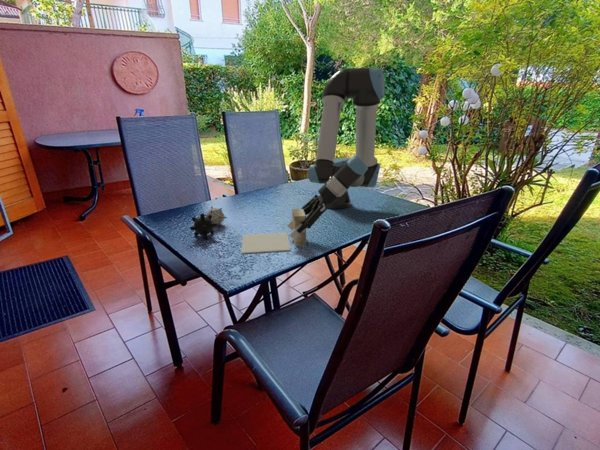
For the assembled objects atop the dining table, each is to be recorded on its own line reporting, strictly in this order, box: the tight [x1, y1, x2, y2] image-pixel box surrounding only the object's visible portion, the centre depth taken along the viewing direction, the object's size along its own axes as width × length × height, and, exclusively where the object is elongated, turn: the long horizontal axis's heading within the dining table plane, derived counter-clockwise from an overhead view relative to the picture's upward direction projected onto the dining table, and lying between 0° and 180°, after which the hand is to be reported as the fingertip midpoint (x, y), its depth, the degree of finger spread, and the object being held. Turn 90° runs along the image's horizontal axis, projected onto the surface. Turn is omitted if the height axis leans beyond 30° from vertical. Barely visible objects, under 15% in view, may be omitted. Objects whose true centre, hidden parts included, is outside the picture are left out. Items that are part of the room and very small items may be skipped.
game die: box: [204, 206, 228, 227], centre depth 148 cm, size 9×8×10 cm
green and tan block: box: [291, 208, 307, 247], centre depth 131 cm, size 4×8×12 cm, turn 7°
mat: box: [240, 232, 292, 255], centre depth 132 cm, size 18×16×1 cm
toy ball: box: [189, 213, 218, 241], centre depth 137 cm, size 11×11×12 cm
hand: (290, 232), depth 131 cm, fingers open, 9 cm apart
